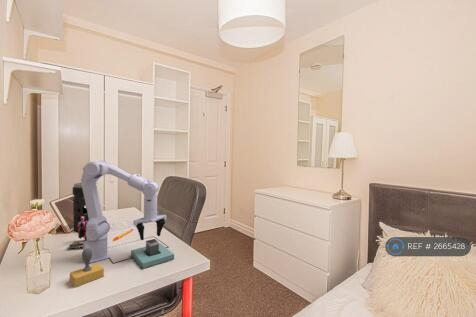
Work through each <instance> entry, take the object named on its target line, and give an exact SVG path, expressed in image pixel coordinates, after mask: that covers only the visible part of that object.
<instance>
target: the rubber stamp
mask: <svg viewBox="0 0 476 317" xmlns="http://www.w3.org/2000/svg"><path fill="white" fill-rule="evenodd" d="M91 257H92V250H91V249H89V248H87V249H85V250H84V251H83V250H82V252H81V258H82V260H83V262H84V264H85V265H84V267H82V268H80V269H77V270H73V271H71V272H69V283H70V285H72V287H73V288H77V287H79V286H82V285H85V284H88V283H91V282H93V281H96V280H98V279H101V278H103V277H104V276H105V274H104V272H105V270H104V267H103V266H102V265H101V264H100V263H98V262H97V263H94V264H91V263H90V260H91ZM90 264H91V265H90Z"/></svg>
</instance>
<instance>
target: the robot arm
mask: <svg viewBox="0 0 476 317" xmlns="http://www.w3.org/2000/svg"><path fill="white" fill-rule="evenodd" d="M82 171H83V172H82V175H81V177H80V178H81V179H80V183H81V184H82V189H83V194H84V198H85V203H86V206H85V208H87V212H88V217H89V221H88V223H87V225H86V228H87V230H86V237H87V239H88V240H87V241H84V242H83V246H82V247H83V248H82V252H83V251H84V250H85V249H87V248H89V249H91V250H92V257H91V260H90V263H89V264H92V263H96V262H99V261H102V260H107V259H110V258H111V255H109V253H108V233H109V231H110V229H111V225H110V223H109V221H108V220H107V217H106V216H104V215H103V211H102V205H101V201H100V197H99V192H98V188H97V182H98V180H99V179H100V178H101V177H103V176H105V175H111V176H112V177H113V176H114V177H116V178H119V179H121V180H123V181H126V182H127V184H128V186H129V187H131V188H133V189H136V190H137V191H139V192H142V195H143V217H141V218H137V219H133V222H132V223H133V225H134V226H135V227H136V229H137V231H138V234H139V239H140V240H141V241H144V236H145V235H144V231H145V226H144V224H149V223H154V222H155V223H156V236H157V237H160V236H161V232H162V230H163V227H164V226H165V224H166V221H167V215H166V214H161V215H160V214H159V215H158V192H159V190H160V189H159V188H160V186H159V184H158V182H156V181H155V180H150V179H148V178H147V179H146V178H145V177H142V176H141V174H140V173H138V174H137V173H134V174H130V173H128V172H127V171H126V170H125V171H124V170H123V169H122V168H120V167H118V166H116V165H114V164H113V163H110V162H107V161H105V160H98V161H90V162H87V163H86V164H85V165H84V166H83V167H82Z"/></svg>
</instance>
